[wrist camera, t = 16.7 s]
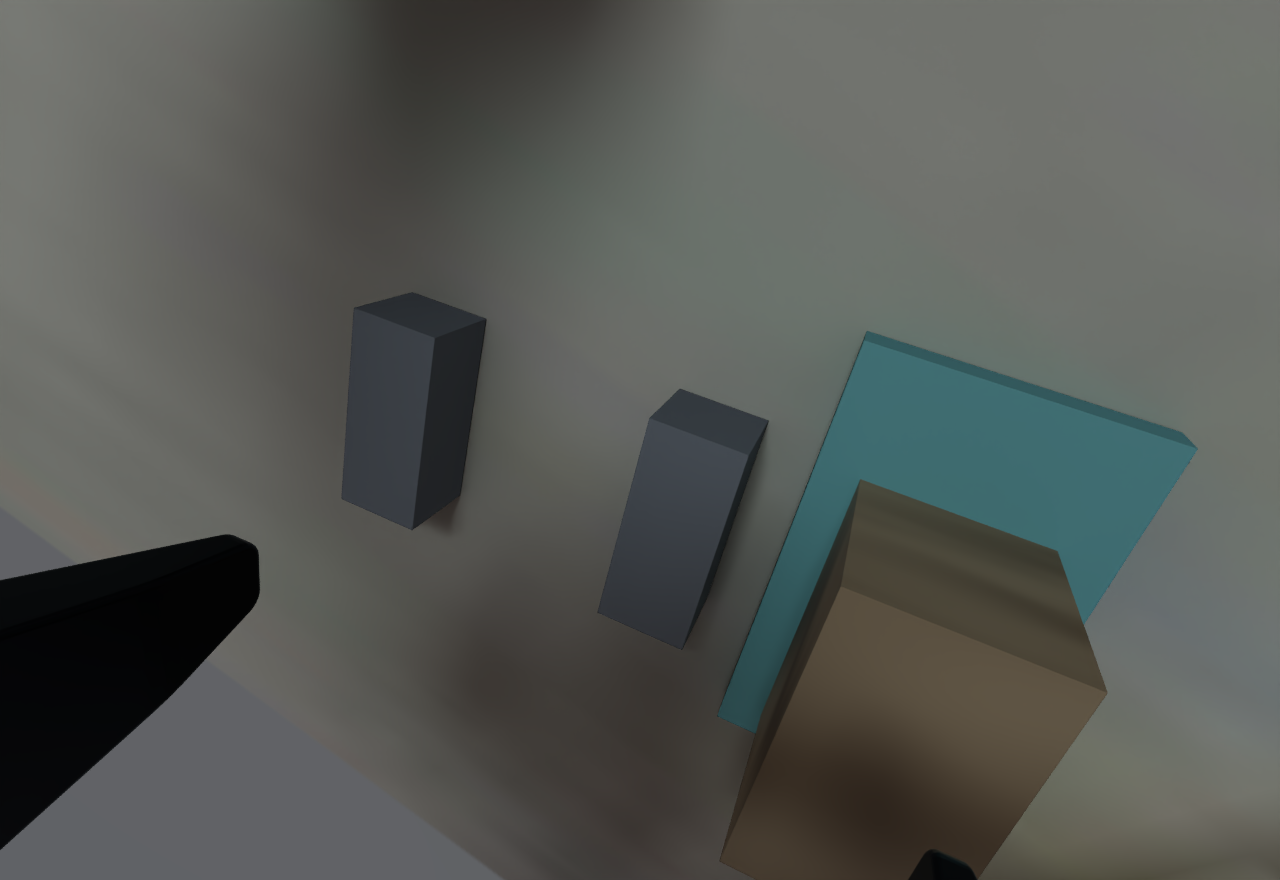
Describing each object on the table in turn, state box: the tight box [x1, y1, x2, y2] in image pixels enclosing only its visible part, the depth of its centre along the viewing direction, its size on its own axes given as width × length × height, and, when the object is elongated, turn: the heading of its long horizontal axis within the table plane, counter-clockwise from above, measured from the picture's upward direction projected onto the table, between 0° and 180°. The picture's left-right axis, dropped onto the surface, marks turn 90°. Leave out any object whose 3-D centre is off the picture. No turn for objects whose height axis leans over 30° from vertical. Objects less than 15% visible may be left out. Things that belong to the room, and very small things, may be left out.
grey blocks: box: [342, 292, 768, 650], centre depth 20 cm, size 6×11×2 cm, turn 76°
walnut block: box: [720, 479, 1107, 880], centre depth 17 cm, size 8×5×5 cm, turn 166°
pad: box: [717, 331, 1198, 734], centre depth 19 cm, size 12×7×1 cm, turn 166°
